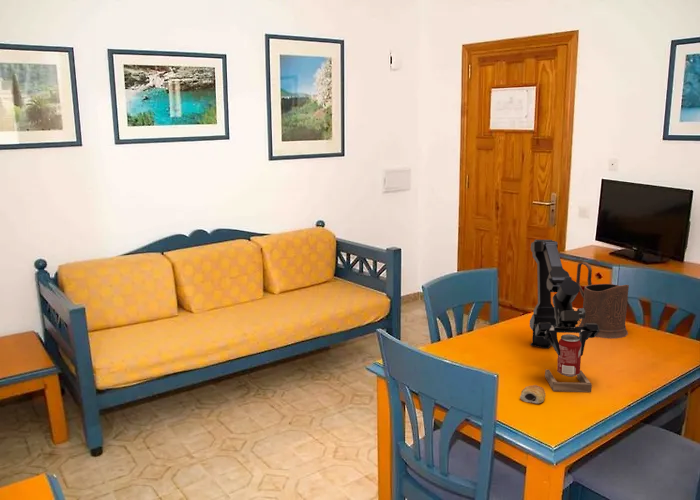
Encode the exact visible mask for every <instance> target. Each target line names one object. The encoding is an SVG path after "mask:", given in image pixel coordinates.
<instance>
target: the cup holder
mask: <svg viewBox="0 0 700 500" xmlns="http://www.w3.org/2000/svg"><path fill="white" fill-rule="evenodd" d="M582 265H584V266H585V267H586V268H587V285H585V286H584V289H583V287H582V286H581V272H582V271H581V270H582ZM576 267H577V268H576V280H575V282H576V283H577V284H578V285H579V287H580V290H579V293H580V295H581V297H582V299H583V301H582V302H583V304H582V308H584V309H585V314H586V317H585V318H584V319H580V323H579V325H578V326H577V327H583V326H584V324H585V323H596V324H597V325H598V326H599V330H600V331H599V332H598V334H597V335H596V337H595V338H600V339H601V338H602V339H611V340H612V339H622V338H625V337H627V336H628V334H629V332H628V330H627V326H626V319H627V308H628V300H629V298H628V296H629V289H630V286H629V284H623V285H619V284H614V283H598V284H597V283H595V284H592V283H593V282H592V274H593V269H592V268H593V267H592V266H591V264H589V262H586V261H583V262H582V261H581V262H579V263H578V264H577V266H576Z"/></svg>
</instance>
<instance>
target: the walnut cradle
mask: <svg viewBox="0 0 700 500" xmlns="http://www.w3.org/2000/svg"><path fill="white" fill-rule="evenodd" d="M544 371H545V372H544V377H545V380H546V381H547V383H548V384H549V386H550V388H551V389H552V392H567V393H568V392H569V393H571V392H572V393H573V392H574V393H575V392H576V393H592V387H593V385H592V384H593V383H591V382H590V380H589V379H588V378H587V376H586V374H585V373H584V372H583V370H581V369H580V374H578V375H576V378H577V380H578V381H579V382H567V381H561V382H560V381H557V379H556V378H555V377H554V375H553V374H552V372H551V370H550V369H545V370H544Z"/></svg>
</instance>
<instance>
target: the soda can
mask: <svg viewBox="0 0 700 500" xmlns="http://www.w3.org/2000/svg"><path fill="white" fill-rule="evenodd" d="M558 343H559V348H560V355H558V354H557V366H556V367H557V368H556V369H557V371H556V372H557V373H559V374H561V375H562V376H564V377H577V375H578V374H580V370H581V364H582V363H581V361H582V356H581V345H582V344H581V342H580V338H579V336H578V335H575V334H571V333H566V334H562V335H561V336H560V339H558Z"/></svg>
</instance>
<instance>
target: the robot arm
mask: <svg viewBox="0 0 700 500" xmlns="http://www.w3.org/2000/svg"><path fill="white" fill-rule="evenodd" d="M530 251H531V252H532V253H531V254H532V258H533V259H534V261H535V262H536V265H537V266H536V267H537V268H536V269H537V270H536V271H537V304H536V305H535V307H534V309H533V314H532V315H531V317H530V320H529V328H530V330H532V336H531V337H532V338H531V343H530V346H532V347H537V348H542V349H543V348H544V349H550V347H552V348H553V349H554V351H555V353H556V354H557V356H558V355H560V348H559V339H558V333H563V334H564V333H566V334H571V333H572V334H579V336H578V337H579V338H580V342H581V344H582V345H581V357H582V356H583V355H584V350H585V345H586V342H587V340H588V339H591V338H592V339H593V338H597V337H596V335H597V334H598V332H599V331H600V330H599V326H598V325H597V324H596V323H585V324H584V326H583V327H578V326H576V325H578V324H579V322H581V320H582V319H584V318H585V317H586V314H585V309H584V308H583V307H581V308H577V309H576V310H575V309H574V308H573V307H574V306H573V302H574V301H575V299H576V298H577V295H578V294H579V293H580V291H579V290H580V287H579V285H578V284H577V283H576V280H573V278H572V276H570V274H569V272H568V271H567V270H566V269H564V267H563V264H562V261H561V258H560V253H559V248H558V241H555V240H553V239H534V241H533V242H531V244H530ZM551 293H555V294H554V295H553V296H551ZM551 300H552V301H551Z"/></svg>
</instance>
